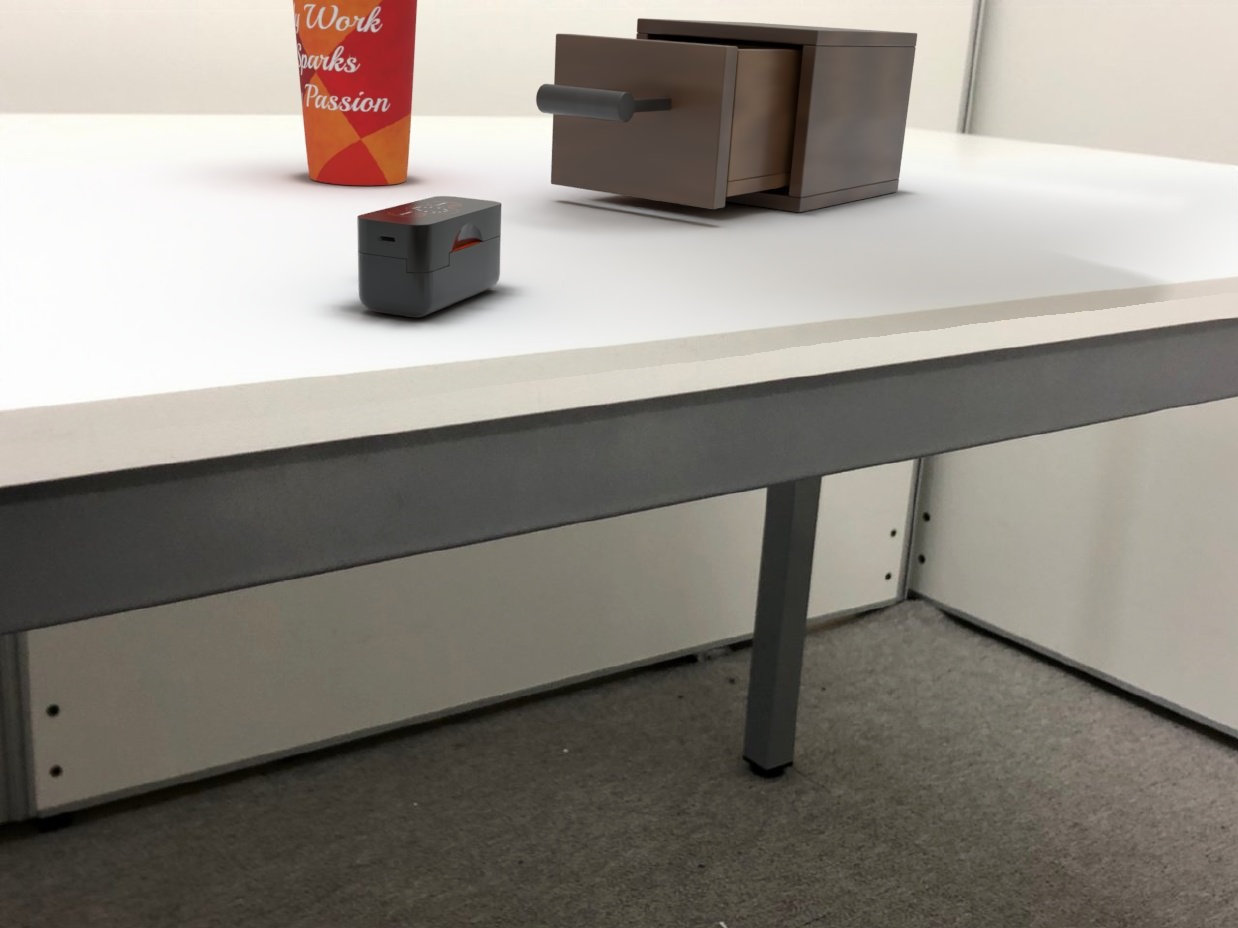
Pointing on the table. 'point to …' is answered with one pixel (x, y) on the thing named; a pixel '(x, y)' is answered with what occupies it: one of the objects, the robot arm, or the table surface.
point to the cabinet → (827, 106)
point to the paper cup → (356, 88)
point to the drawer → (672, 117)
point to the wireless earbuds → (428, 254)
